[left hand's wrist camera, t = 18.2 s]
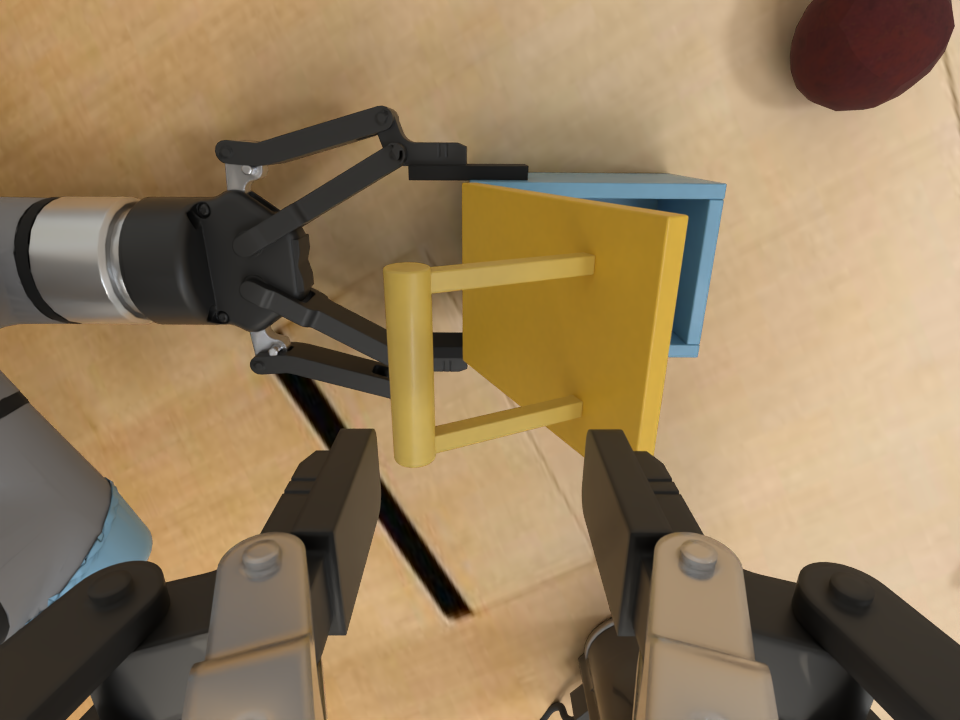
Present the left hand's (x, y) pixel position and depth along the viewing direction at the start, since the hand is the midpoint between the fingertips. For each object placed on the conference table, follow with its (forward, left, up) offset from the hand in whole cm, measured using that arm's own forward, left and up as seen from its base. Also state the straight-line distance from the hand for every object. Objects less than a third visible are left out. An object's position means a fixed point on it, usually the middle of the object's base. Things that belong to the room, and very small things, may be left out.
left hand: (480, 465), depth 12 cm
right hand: (+2, -2, -22) cm, 22 cm away
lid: (+2, -2, -13) cm, 13 cm away
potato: (+24, -9, -29) cm, 38 cm away
